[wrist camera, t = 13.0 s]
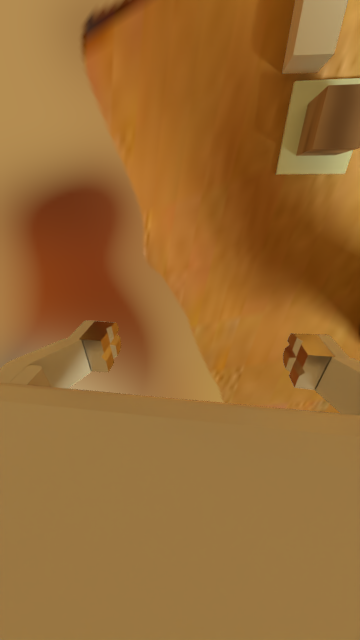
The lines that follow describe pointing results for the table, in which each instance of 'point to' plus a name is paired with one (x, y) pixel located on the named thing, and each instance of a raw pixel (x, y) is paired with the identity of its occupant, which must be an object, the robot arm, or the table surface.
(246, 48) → the table surface
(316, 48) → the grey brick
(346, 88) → the walnut cube
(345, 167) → the green tile
